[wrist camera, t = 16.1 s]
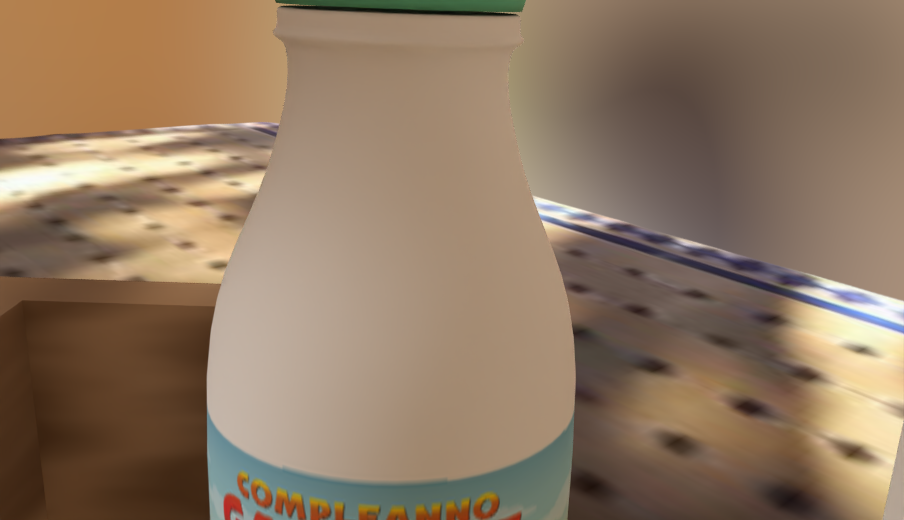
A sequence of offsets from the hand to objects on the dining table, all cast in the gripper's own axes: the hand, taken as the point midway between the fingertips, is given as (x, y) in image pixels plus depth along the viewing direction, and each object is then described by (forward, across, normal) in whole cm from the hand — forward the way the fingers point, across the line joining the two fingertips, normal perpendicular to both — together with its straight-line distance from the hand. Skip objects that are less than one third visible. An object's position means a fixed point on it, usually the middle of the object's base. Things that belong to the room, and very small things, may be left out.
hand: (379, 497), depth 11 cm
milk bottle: (+7, 0, -13) cm, 15 cm away
